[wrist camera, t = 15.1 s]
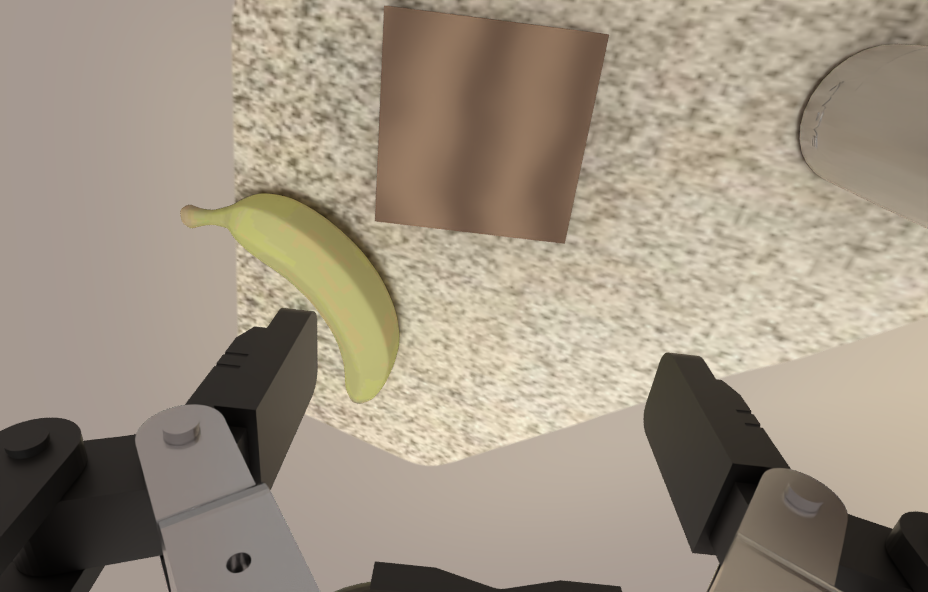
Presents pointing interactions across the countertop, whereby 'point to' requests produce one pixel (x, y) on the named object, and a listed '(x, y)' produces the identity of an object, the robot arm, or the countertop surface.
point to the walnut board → (483, 123)
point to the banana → (319, 279)
